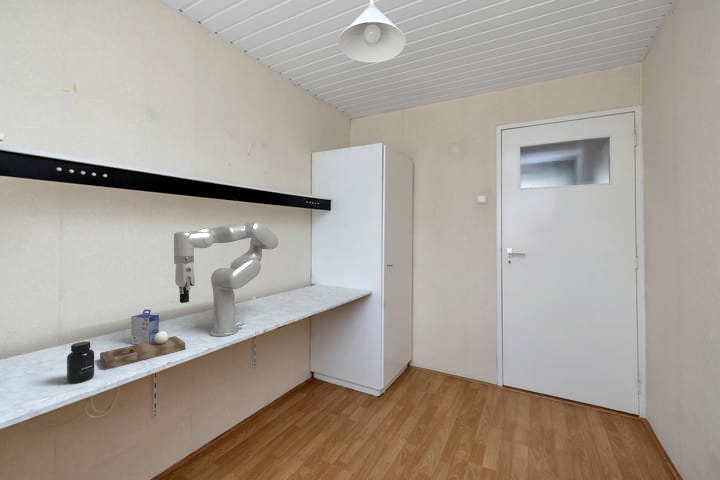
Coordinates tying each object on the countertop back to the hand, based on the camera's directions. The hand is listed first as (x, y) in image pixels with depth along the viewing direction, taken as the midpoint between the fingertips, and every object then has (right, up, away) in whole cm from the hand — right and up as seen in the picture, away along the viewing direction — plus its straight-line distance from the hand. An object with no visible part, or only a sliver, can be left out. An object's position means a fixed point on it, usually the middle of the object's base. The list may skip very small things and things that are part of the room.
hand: (184, 302), depth 135 cm
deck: (-10, -19, -11) cm, 24 cm away
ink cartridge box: (-19, -19, +3) cm, 27 cm away
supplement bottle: (-17, -20, -31) cm, 41 cm away
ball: (-6, -13, -6) cm, 16 cm away
